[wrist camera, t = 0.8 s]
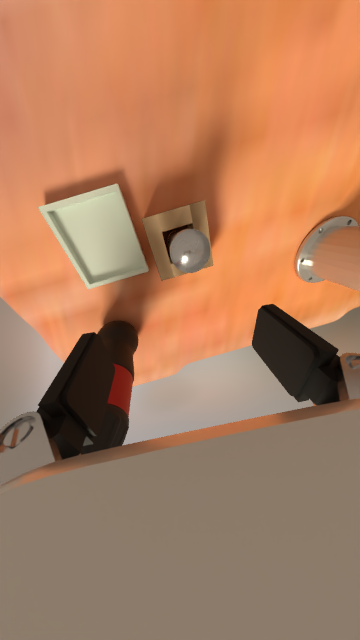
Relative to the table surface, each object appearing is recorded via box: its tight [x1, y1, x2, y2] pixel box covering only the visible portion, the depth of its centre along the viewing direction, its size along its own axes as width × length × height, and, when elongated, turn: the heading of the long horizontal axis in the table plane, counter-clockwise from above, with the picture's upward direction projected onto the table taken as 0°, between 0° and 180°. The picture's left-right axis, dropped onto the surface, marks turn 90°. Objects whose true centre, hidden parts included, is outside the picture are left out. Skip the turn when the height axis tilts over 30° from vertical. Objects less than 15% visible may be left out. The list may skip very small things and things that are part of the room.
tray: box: [38, 183, 149, 289], centre depth 26 cm, size 11×12×2 cm
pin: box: [168, 229, 210, 273], centre depth 23 cm, size 5×5×12 cm
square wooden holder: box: [142, 200, 213, 281], centre depth 26 cm, size 9×9×5 cm
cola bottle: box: [80, 321, 138, 455], centre depth 24 cm, size 8×8×30 cm
